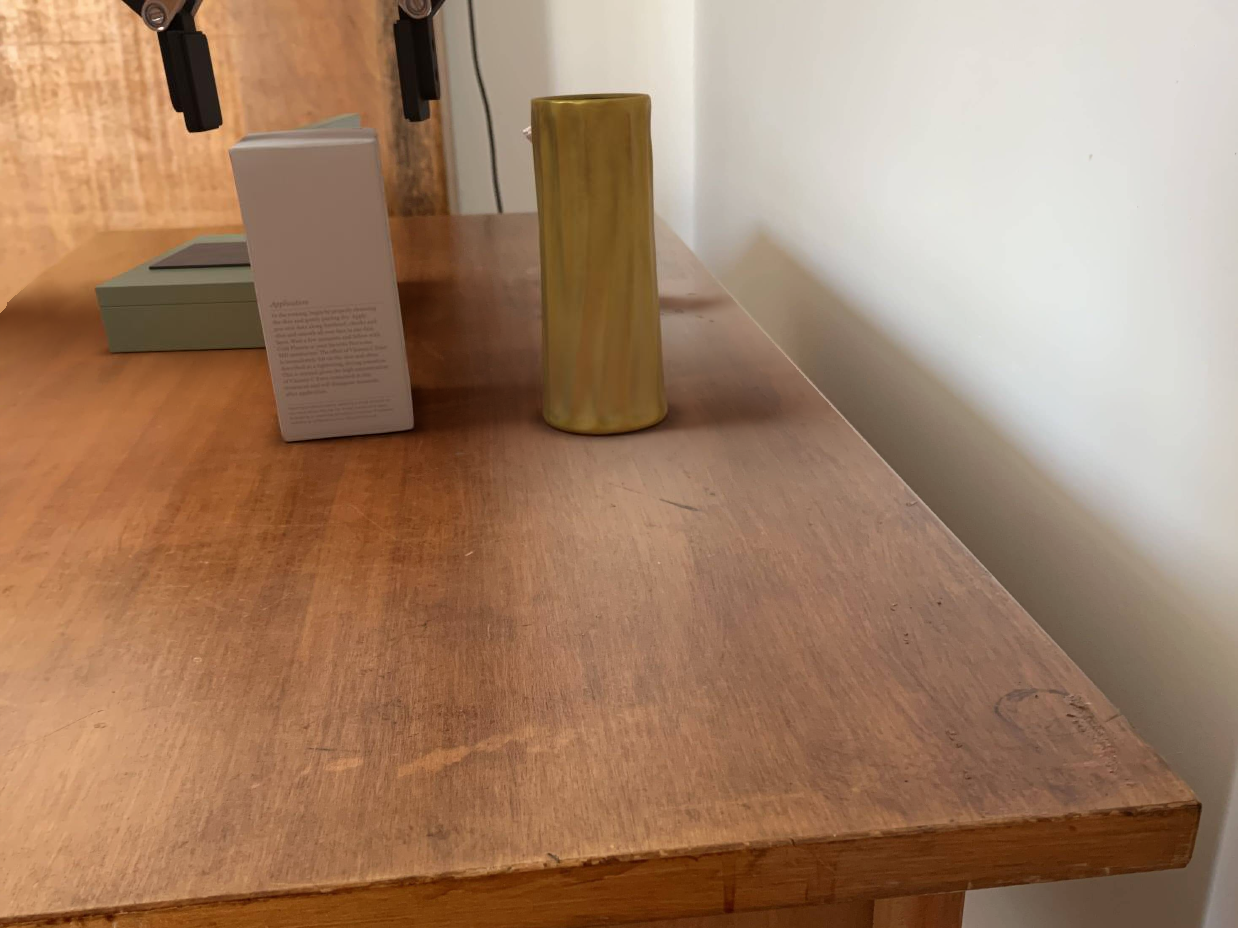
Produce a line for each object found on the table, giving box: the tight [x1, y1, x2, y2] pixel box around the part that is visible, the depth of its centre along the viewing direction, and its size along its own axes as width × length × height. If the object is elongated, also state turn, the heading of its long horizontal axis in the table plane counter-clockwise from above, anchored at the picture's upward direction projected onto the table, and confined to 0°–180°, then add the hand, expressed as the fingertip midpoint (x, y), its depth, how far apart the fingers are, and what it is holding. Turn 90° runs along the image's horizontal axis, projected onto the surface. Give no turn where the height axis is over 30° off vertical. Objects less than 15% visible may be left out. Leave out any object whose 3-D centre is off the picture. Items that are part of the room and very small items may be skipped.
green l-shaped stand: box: [94, 113, 362, 354], centre depth 78 cm, size 13×20×12 cm, turn 1°
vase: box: [530, 92, 669, 435], centre depth 54 cm, size 6×6×14 cm
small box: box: [227, 126, 415, 443], centre depth 56 cm, size 8×6×13 cm
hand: (312, 125), depth 53 cm, fingers open, 9 cm apart
